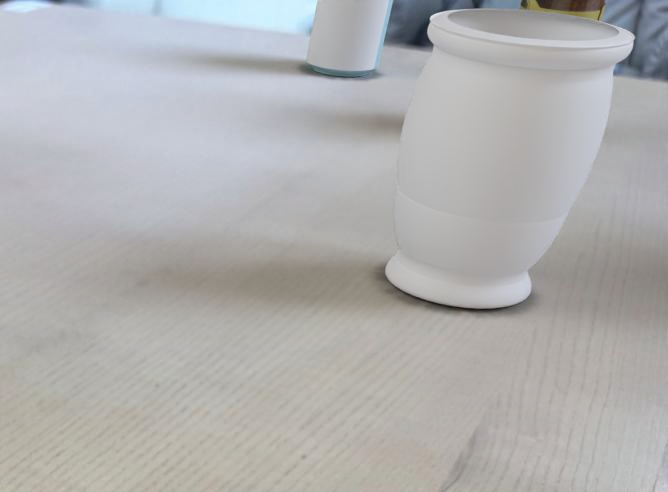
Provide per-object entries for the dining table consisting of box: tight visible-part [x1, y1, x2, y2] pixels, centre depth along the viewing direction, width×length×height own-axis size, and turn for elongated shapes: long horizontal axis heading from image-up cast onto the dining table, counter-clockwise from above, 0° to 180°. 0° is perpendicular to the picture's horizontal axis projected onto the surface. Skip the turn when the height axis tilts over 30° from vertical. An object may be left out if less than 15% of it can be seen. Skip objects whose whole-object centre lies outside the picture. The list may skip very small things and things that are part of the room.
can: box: [305, 0, 394, 78], centre depth 118 cm, size 7×7×12 cm
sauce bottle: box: [518, 0, 606, 22], centre depth 98 cm, size 7×6×20 cm
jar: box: [384, 7, 636, 310], centre depth 70 cm, size 11×10×15 cm
